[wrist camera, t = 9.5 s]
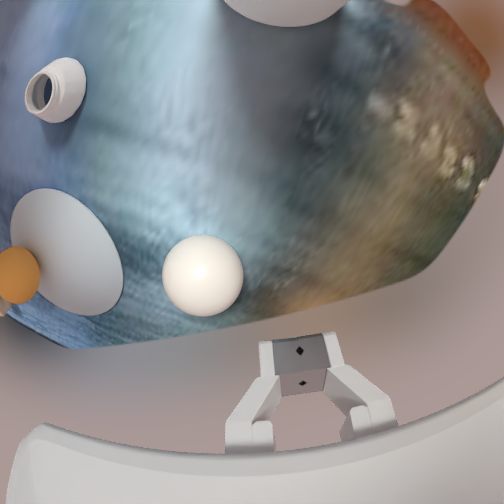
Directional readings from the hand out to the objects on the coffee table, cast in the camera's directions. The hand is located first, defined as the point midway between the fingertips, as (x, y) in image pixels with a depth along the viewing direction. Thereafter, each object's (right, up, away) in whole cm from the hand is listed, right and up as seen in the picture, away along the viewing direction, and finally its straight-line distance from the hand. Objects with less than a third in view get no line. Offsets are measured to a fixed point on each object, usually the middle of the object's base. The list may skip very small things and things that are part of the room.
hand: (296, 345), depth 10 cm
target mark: (-20, +3, +10) cm, 22 cm away
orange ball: (-24, +2, +8) cm, 26 cm away
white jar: (-15, +16, +3) cm, 22 cm away
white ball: (-5, +2, +8) cm, 10 cm away
